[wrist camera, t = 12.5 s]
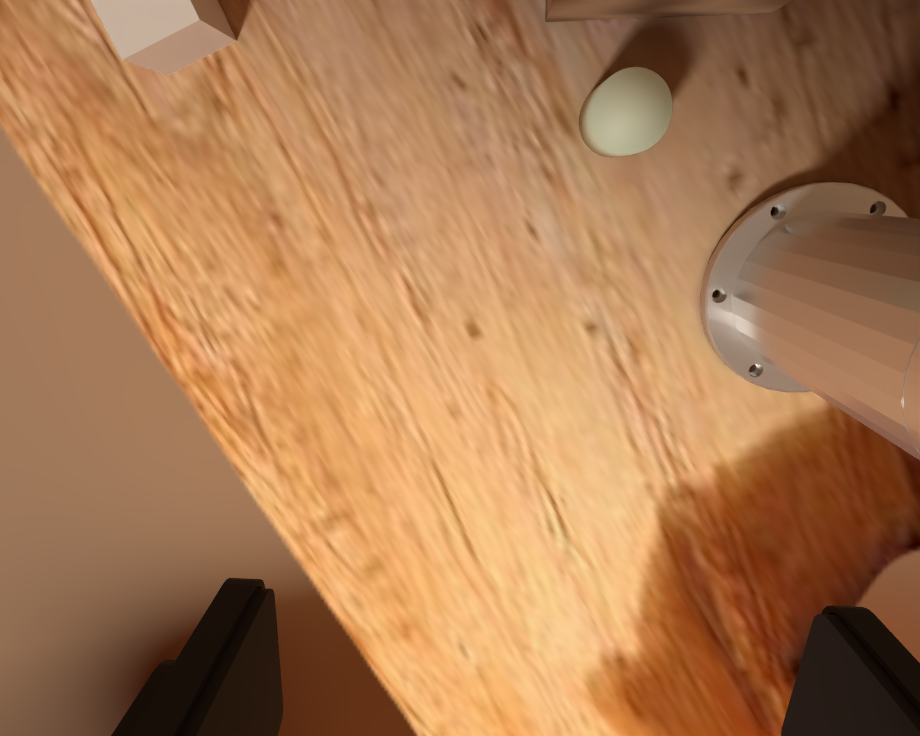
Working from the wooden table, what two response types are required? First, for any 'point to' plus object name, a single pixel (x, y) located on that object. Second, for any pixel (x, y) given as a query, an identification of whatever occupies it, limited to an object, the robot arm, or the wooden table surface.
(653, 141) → the sage painted capsule
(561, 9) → the shallow wooden tray
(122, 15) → the grey ceramic cube
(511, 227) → the wooden table surface
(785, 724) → the robot arm
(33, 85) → the wooden table surface
